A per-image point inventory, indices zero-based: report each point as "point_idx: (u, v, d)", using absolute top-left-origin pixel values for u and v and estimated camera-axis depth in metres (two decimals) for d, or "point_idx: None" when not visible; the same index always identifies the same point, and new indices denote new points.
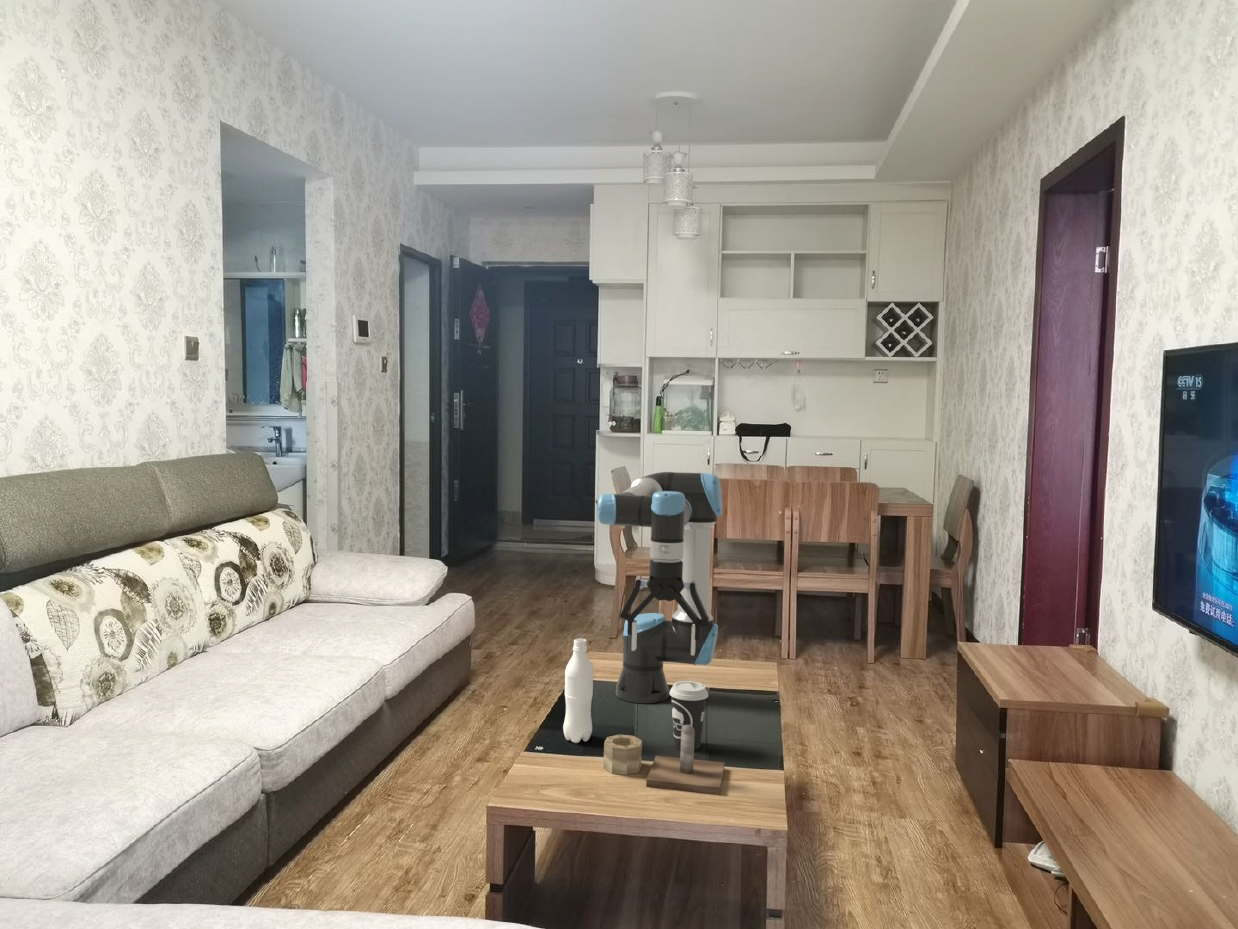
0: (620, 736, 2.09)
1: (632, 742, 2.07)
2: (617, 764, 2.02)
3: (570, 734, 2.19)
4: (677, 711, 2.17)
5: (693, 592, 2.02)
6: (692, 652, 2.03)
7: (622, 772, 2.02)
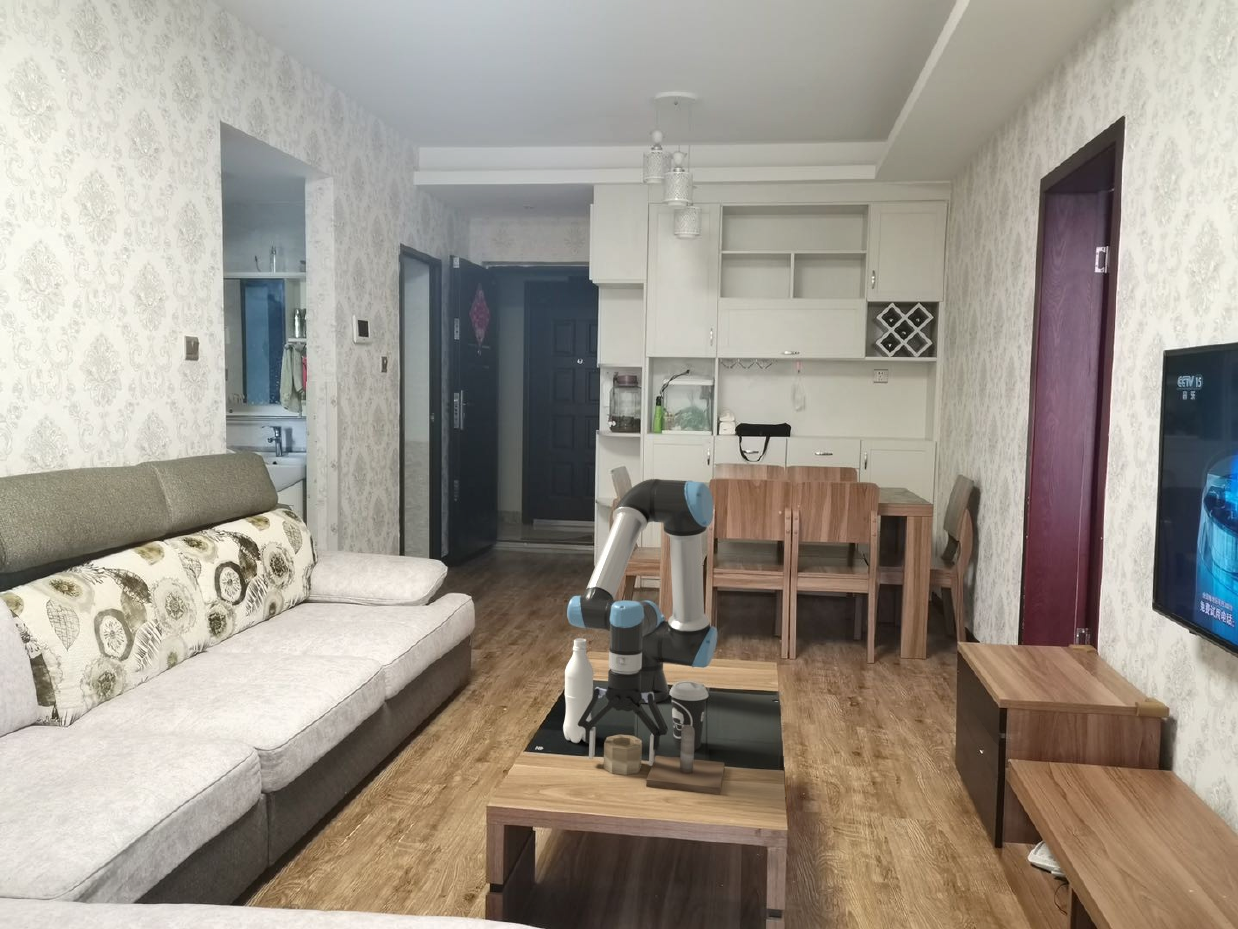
0: (620, 736, 2.09)
1: (632, 742, 2.07)
2: (617, 764, 2.02)
3: (570, 734, 2.19)
4: (677, 711, 2.17)
5: (651, 703, 2.03)
6: (650, 762, 2.03)
7: (622, 772, 2.02)
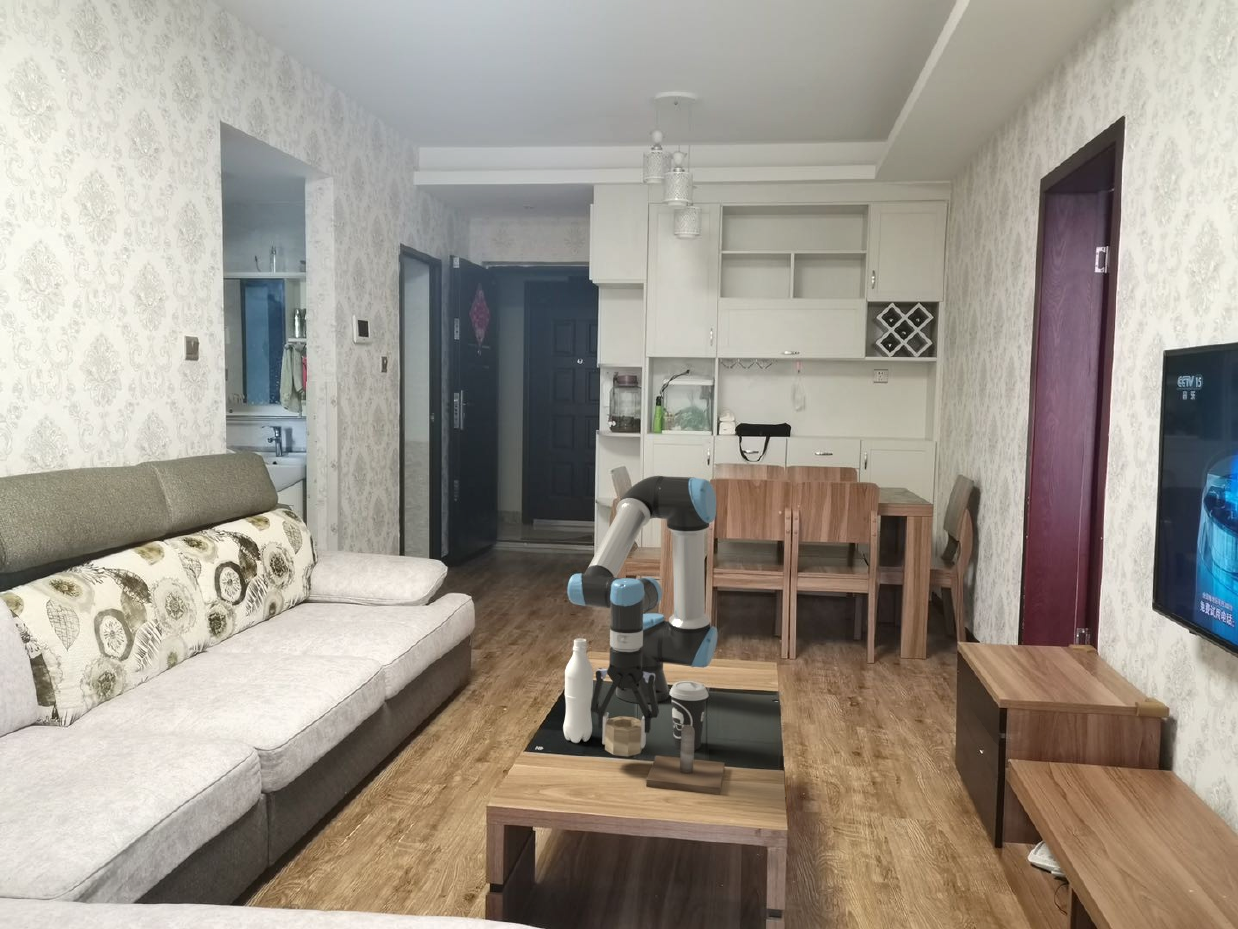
0: (621, 718, 2.09)
1: (634, 723, 2.07)
2: (618, 746, 2.02)
3: (570, 734, 2.19)
4: (677, 711, 2.17)
5: (650, 684, 2.03)
6: (642, 745, 2.04)
7: (623, 754, 2.02)
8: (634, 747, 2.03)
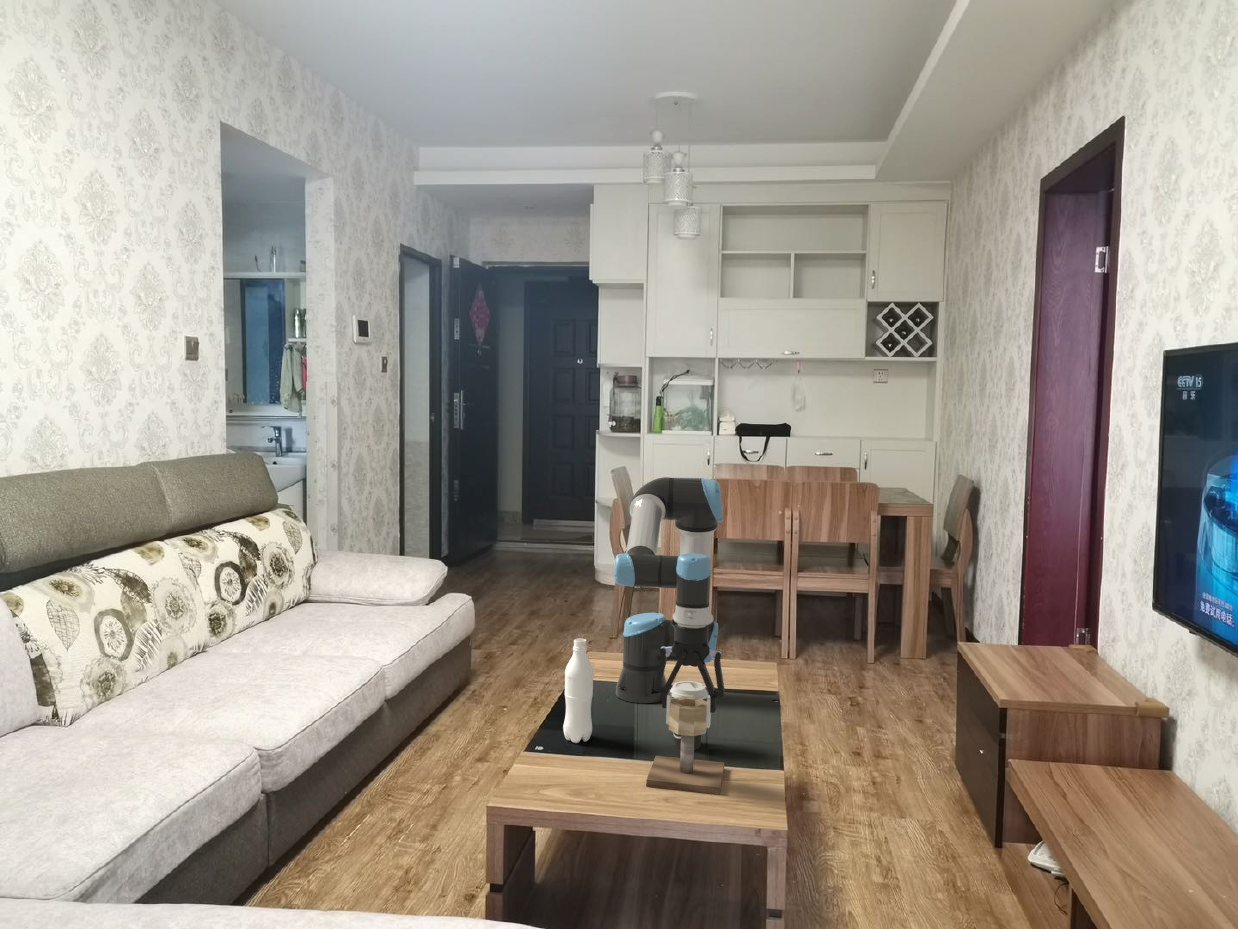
0: (685, 698, 2.03)
1: (698, 703, 2.01)
2: (684, 725, 1.96)
3: (570, 734, 2.19)
4: None
5: (717, 662, 1.97)
6: (707, 725, 1.98)
7: (689, 733, 1.96)
8: (700, 727, 1.97)
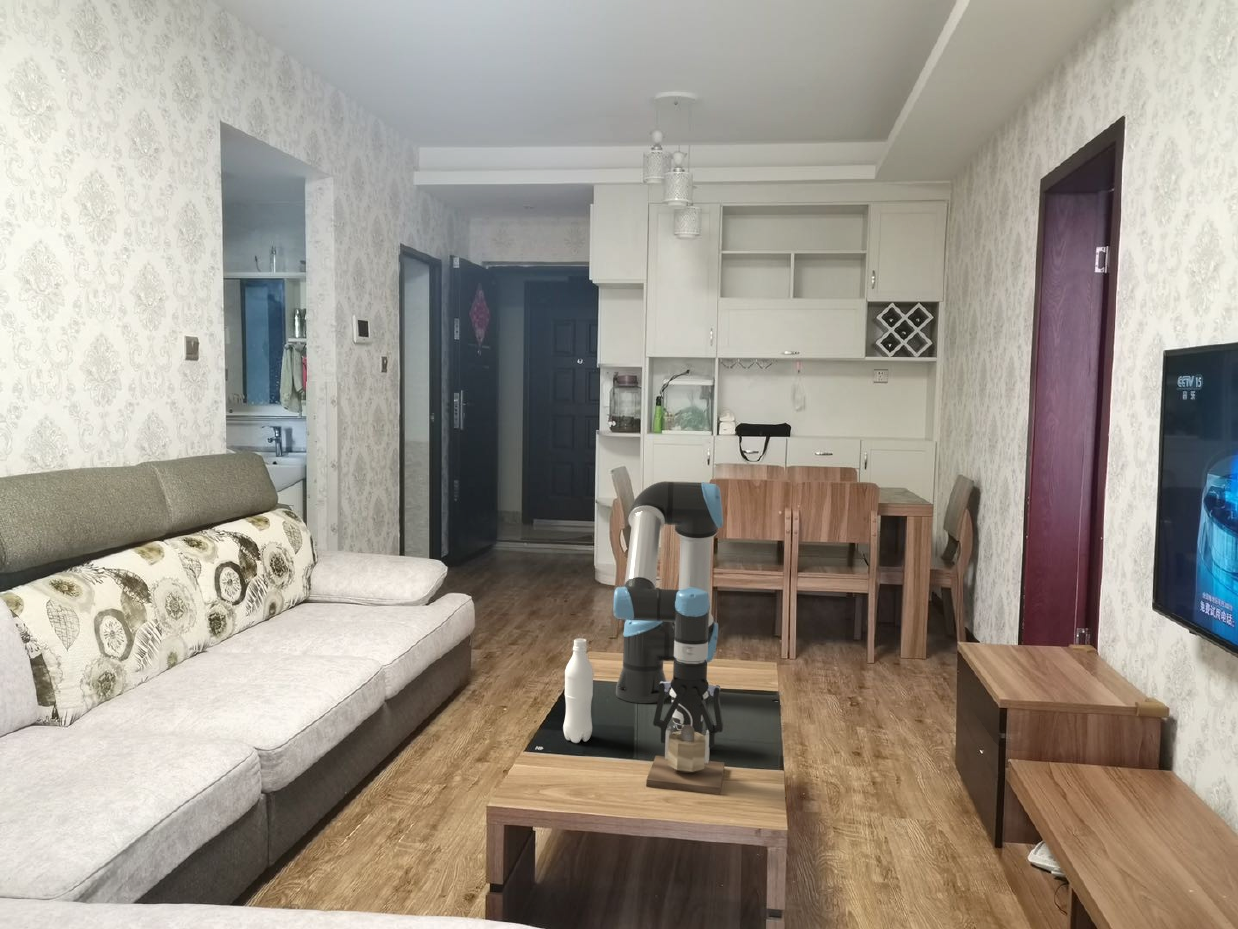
0: None
1: (697, 738, 2.02)
2: (682, 760, 1.97)
3: (570, 734, 2.19)
4: (677, 711, 2.17)
5: (716, 697, 1.98)
6: (706, 760, 1.99)
7: (688, 769, 1.97)
8: (698, 762, 1.98)
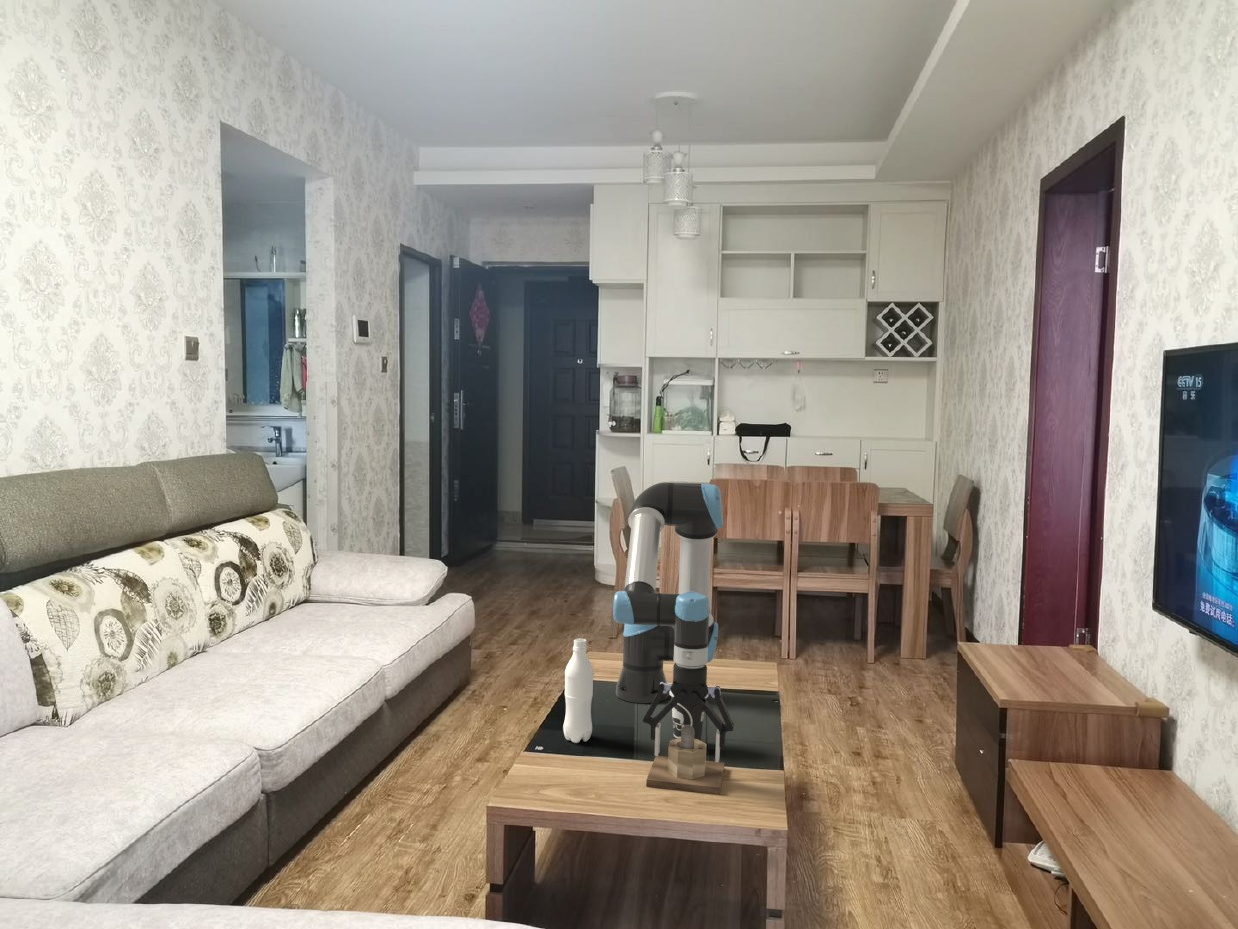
0: None
1: (697, 745, 2.02)
2: (682, 768, 1.97)
3: (570, 734, 2.19)
4: (677, 711, 2.17)
5: (718, 698, 1.98)
6: (717, 759, 1.99)
7: (688, 776, 1.97)
8: (698, 769, 1.98)
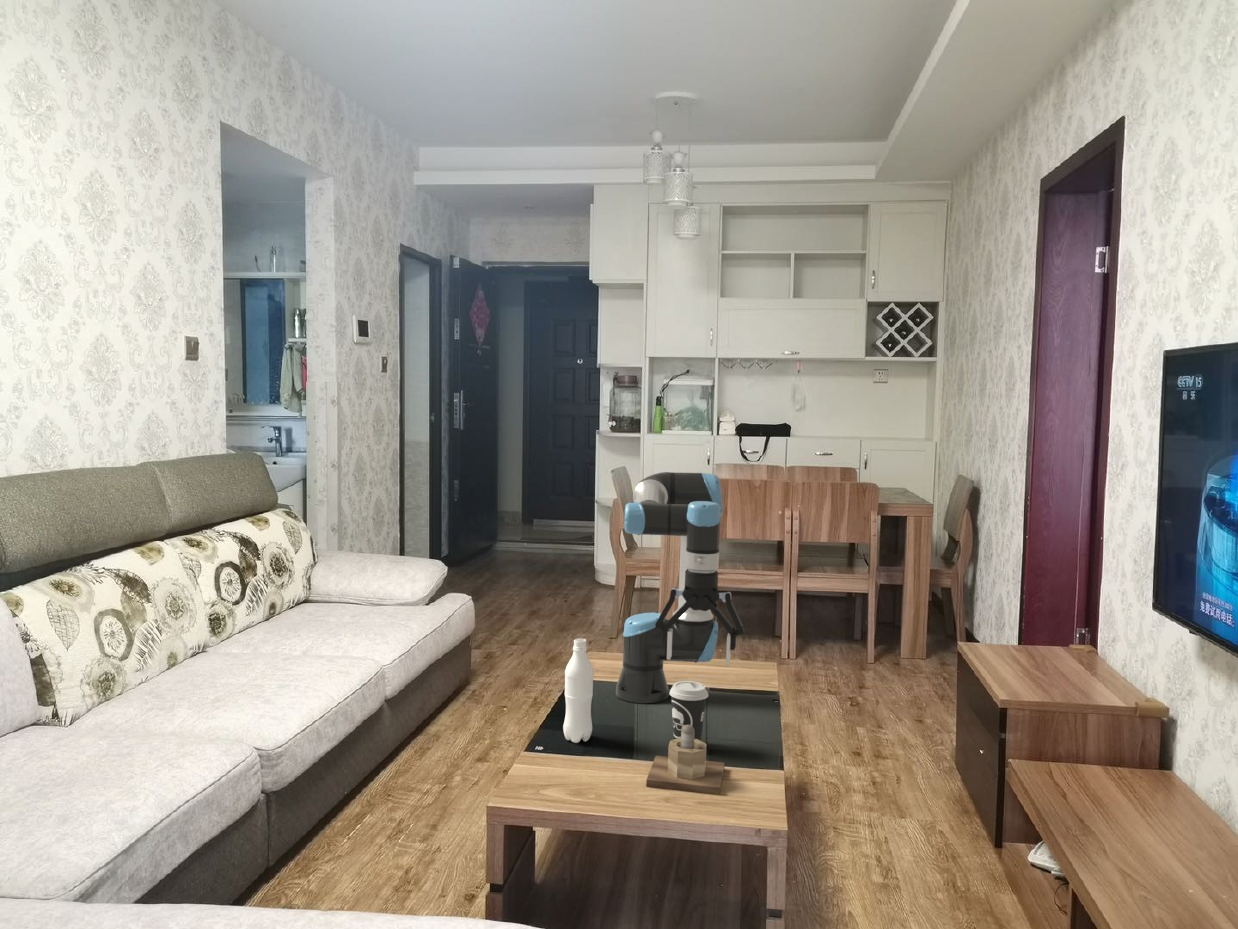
0: None
1: (697, 745, 2.02)
2: (682, 768, 1.97)
3: (570, 734, 2.19)
4: (677, 711, 2.17)
5: (728, 602, 2.02)
6: (727, 662, 2.03)
7: (688, 776, 1.97)
8: (698, 769, 1.98)
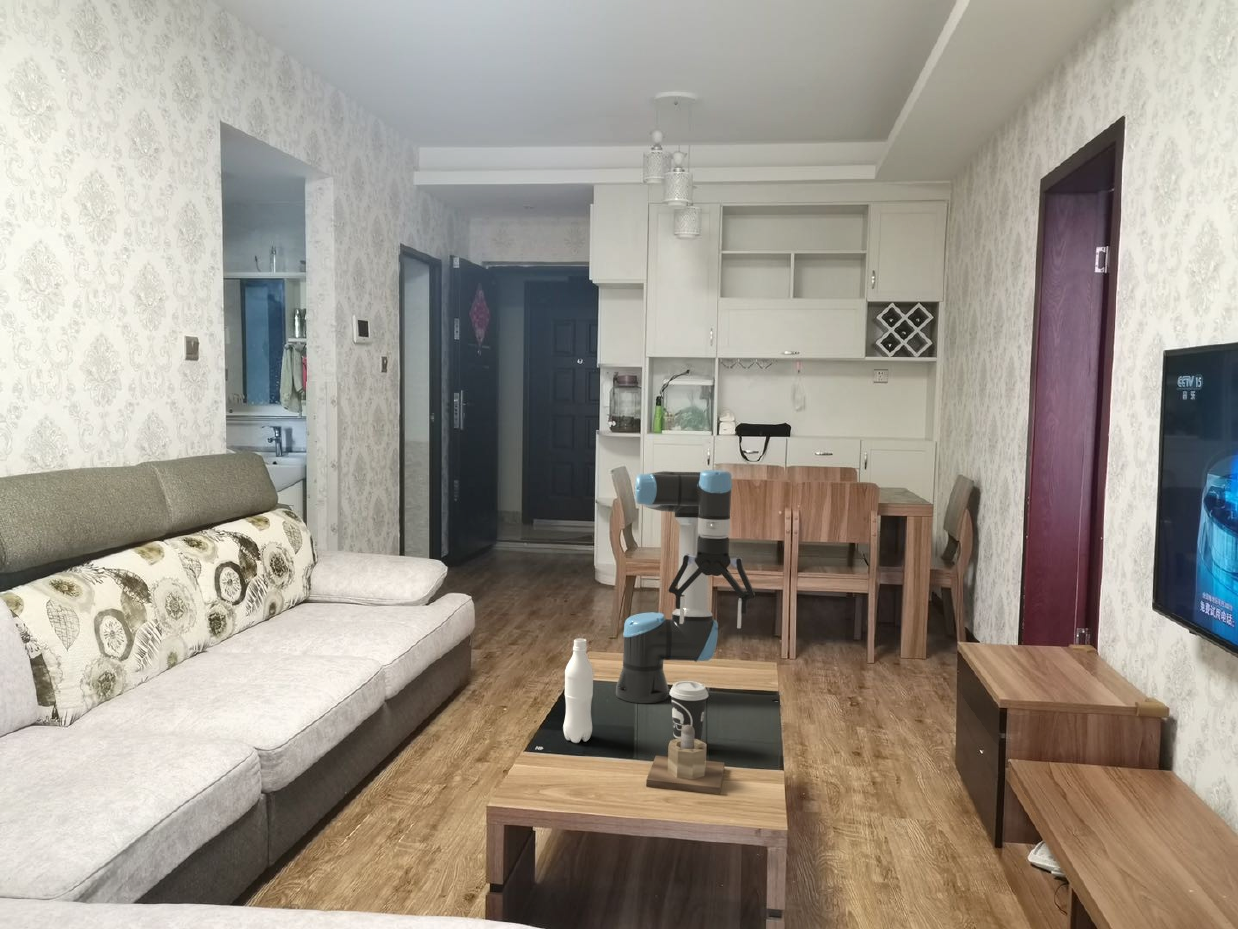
0: None
1: (697, 745, 2.02)
2: (682, 768, 1.97)
3: (570, 734, 2.19)
4: (677, 711, 2.17)
5: (739, 567, 2.09)
6: (738, 625, 2.10)
7: (688, 776, 1.97)
8: (698, 769, 1.98)
